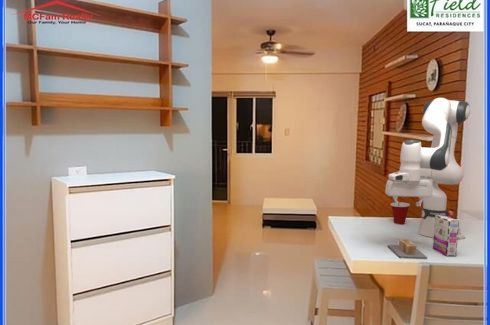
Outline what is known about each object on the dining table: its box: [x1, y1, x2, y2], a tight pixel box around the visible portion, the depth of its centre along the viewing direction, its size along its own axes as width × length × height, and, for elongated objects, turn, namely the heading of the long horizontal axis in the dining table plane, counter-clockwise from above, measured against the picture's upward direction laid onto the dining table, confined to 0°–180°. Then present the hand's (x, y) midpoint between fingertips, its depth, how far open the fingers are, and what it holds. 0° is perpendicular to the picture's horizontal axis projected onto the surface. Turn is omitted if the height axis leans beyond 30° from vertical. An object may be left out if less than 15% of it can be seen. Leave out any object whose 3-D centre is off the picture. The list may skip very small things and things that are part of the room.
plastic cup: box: [390, 201, 411, 225], centre depth 227 cm, size 11×11×12 cm
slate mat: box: [386, 244, 428, 260], centre depth 174 cm, size 12×16×1 cm
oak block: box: [398, 238, 417, 255], centre depth 173 cm, size 4×4×10 cm
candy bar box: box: [432, 215, 460, 257], centre depth 175 cm, size 11×5×16 cm, turn 5°
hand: (407, 206), depth 173 cm, fingers open, 8 cm apart
